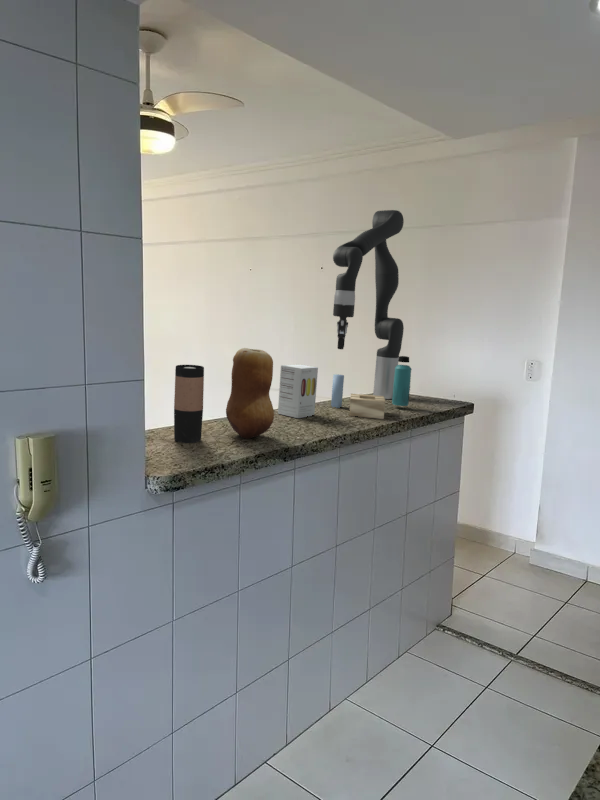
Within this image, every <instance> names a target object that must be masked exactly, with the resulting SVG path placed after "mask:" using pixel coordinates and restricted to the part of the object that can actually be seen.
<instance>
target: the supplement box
mask: <svg viewBox="0 0 600 800" xmlns="http://www.w3.org/2000/svg"><path fill="white" fill-rule="evenodd" d="M318 370H319V367H318V366H312V365H305V364H299V363H298V364H297V363H296V364H281V365H280V372H279V373H280V374H279V375H280V376H279V388H278V390H279V392H278V402H277V403H278V407H277V414H279V415H283V416H287V417H291V418H295V419H301V418H306V417H307V416H308V417H312V415H314V416H315V410H316V397H317V386H318V384H317V383H318Z"/></svg>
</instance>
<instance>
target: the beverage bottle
mask: <svg viewBox="0 0 600 800" xmlns="http://www.w3.org/2000/svg"><path fill="white" fill-rule="evenodd" d="M398 363H410V356H405V355H399V360H398ZM411 377H412V368H411V366H410V365H407V364H398V365H397V366H396V367H395V375H394V384H393V392H392V393H393V395H392V396H393V398H392V399H391V404H392V405H394V406H400V407H408V405H409V403H410V402H409V401H410V393H411V392H410V391H411V379H412V378H411Z"/></svg>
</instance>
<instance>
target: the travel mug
mask: <svg viewBox="0 0 600 800" xmlns="http://www.w3.org/2000/svg"><path fill="white" fill-rule="evenodd" d="M174 370H175V372H174V375H175V377H174V397H173V398H174V403H173V427H174V428H173V430H174V431H173V435H174V436H173V437H174V438H173V439H174V441H175V442H177V443H182V444H184V443H185V444H195V443H199V442H201V440H202V431H203V429H202V428H203V416H204V415H203V414H204V413H203V412H204V390H205V389H204V388H205V387H204V386H205V383H204V382H205V367H204V366H203V365H199V364H198V365H197V364H178V365H175V369H174Z"/></svg>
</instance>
